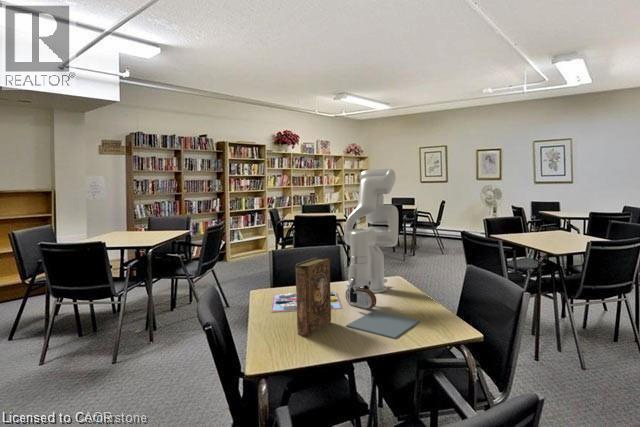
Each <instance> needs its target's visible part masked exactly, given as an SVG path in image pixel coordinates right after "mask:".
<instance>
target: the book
mask: <svg viewBox="0 0 640 427" xmlns="http://www.w3.org/2000/svg"><path fill="white" fill-rule="evenodd" d="M330 263H331V262H330V258H319V257H313V258H310V259H308V260H305V261H302V262H300V263H299V262H298V263H295V291H296V292H295V293H296V299H297V311H296V316H297V317H296V323H297V324H296V325H297V327H296V328H297V335H298V336H301V337H307V338H308V337H311V336H313V335H314V334H316V333H317V332H319V331H320V330H322V329H323V328H324V327H326V326H328V325H329V324H330V323H331V321H332V309H331V295H330V292H331V266H330V265H331V264H330Z"/></svg>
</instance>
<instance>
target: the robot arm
mask: <svg viewBox="0 0 640 427" xmlns="http://www.w3.org/2000/svg"><path fill="white" fill-rule="evenodd" d="M359 180H360V182H359V187H358V188H359V190H358V198H357V199H358V200H357V206H356V208H355V209H353V210H352V212H351V213H350V214H349V215H348V217H347V219H346V221H345V225H344V234H343V238H344V242H345V244H346V245H348V246H349V248H350V264H349V267H348V282H347V283H346V286H347V289H348V290H349V293H350V302H353V303H357V293H356V291H357V289H358V288H364V289H369V290H371V291H372V292H373V293H374V294H375V293H376V294H377V293H384V292H386V291H387V292H388V287H387V286H386V285H385V284H386V283H387V282H388V279H387V278H385V268H384V267H385V266H384V264H385V260H384V258H385V256H384V253H383V251H382V250H381V248H380V247H395V246H396V245H397V244H398V241H399V210H398V208H397V206H395V205H393V204H384V195H388V194H390V193H391V192H392V189H393V188H394V185H395V182H396V172H395V170H394V169H393V168H374V169H373V168H372V169H371V168H370V169H365V170H362V171H361V172H360V175H359ZM363 217H365V219H366V222H367V223H368V224H370V225H387V226H367V227H365V228H353V227H354V225H355V223H356V222H358V220H360V219H362V218H363ZM353 288H355V289H353Z"/></svg>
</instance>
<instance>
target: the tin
mask: <svg viewBox="0 0 640 427" xmlns="http://www.w3.org/2000/svg"><path fill="white" fill-rule="evenodd" d="M353 289H355V288H353ZM356 293H357V303H353V302H350V293H349V290H348V288H347V289H346V291H345V299H346V302H347V303H348V304H349V305H350V306H352V307H355V308H359V309H363V310H370V309H371V310H372V309H373V308H375V307H376V305H377V297H376V295H375V293H373V292H372V291H371V290H369V289H364V288H362V287H360V288H358V289H357V291H356Z"/></svg>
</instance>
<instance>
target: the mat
mask: <svg viewBox="0 0 640 427" xmlns="http://www.w3.org/2000/svg"><path fill="white" fill-rule="evenodd" d="M420 322H421V320H420V319H417V318H416V319H415V318H412V317H411V318H410V317H406V316H401V315H397V314H391V313H388V312H383V311H377V310H373V311H370V312H369V313H367V314H365V315H363V316H361V317H359V318H358V319H356V320H354V321H352V322H349V323H348V324H346V327H347V328H350V329H354V330H358V331H362V332H365V333H370V334H373V335H377V336H381V337H385V338H389V339H393V340H396V339H398V338H399V337H401V335H403V334H405V333H406V332H407V331H409V330H410V329H412V328H413V327H414V326H416V325H417V324H419V323H420Z"/></svg>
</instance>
